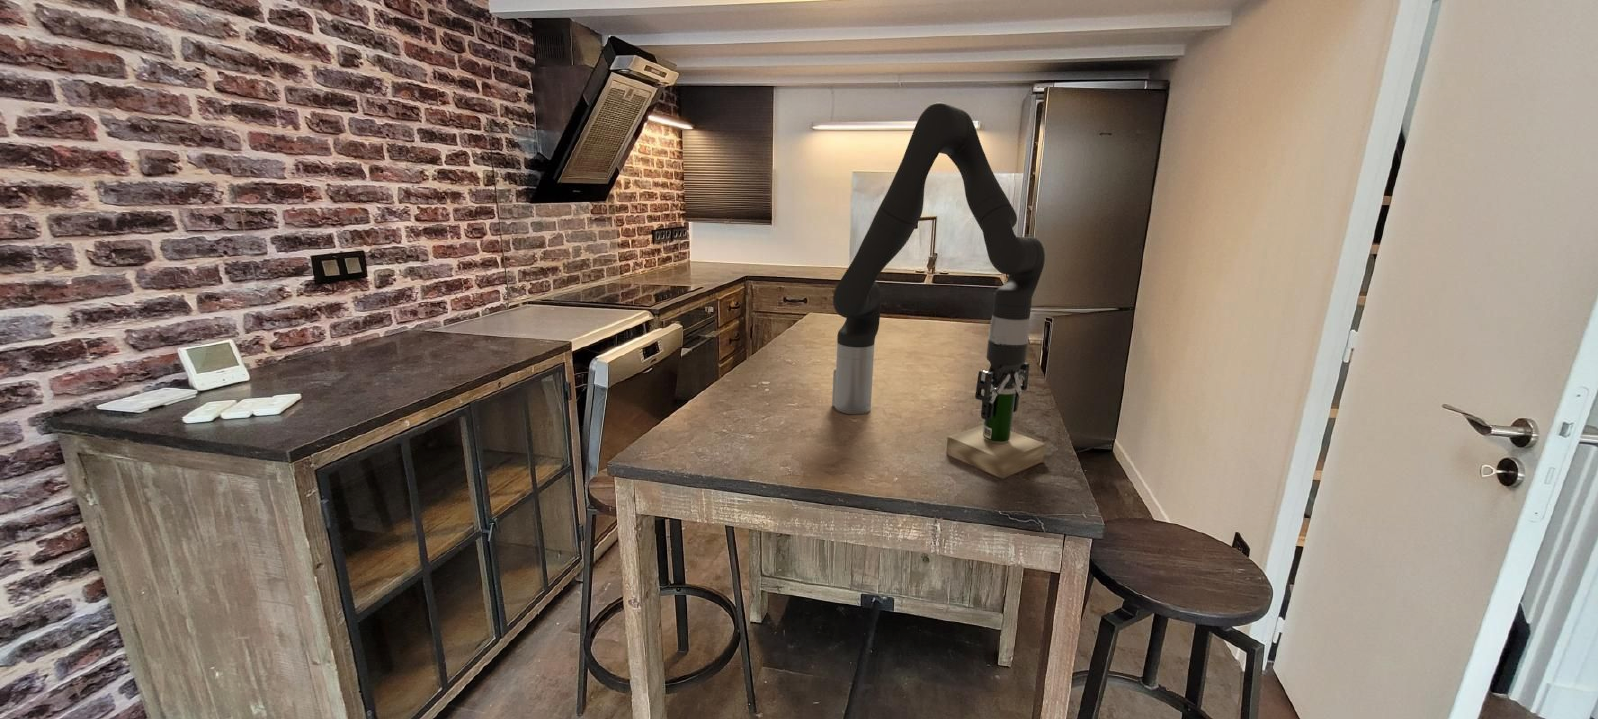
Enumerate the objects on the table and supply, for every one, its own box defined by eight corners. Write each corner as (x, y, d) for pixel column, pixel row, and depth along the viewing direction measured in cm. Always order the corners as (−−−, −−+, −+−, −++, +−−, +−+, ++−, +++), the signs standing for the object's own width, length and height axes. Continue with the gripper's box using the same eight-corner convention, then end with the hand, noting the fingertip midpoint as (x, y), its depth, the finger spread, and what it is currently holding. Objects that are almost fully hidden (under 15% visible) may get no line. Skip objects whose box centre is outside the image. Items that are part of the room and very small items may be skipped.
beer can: (997, 447, 125) (1004, 391, 121) (977, 438, 129) (983, 383, 126) (1014, 441, 128) (1021, 387, 124) (994, 433, 132) (1000, 379, 129)
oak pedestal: (946, 453, 131) (947, 436, 129) (986, 439, 139) (988, 422, 138) (1002, 478, 120) (1004, 459, 119) (1042, 461, 128) (1045, 443, 127)
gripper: (1012, 330, 129) (1004, 403, 134) (970, 339, 121) (962, 416, 125) (1045, 338, 124) (1035, 413, 128) (1002, 347, 115) (993, 428, 120)
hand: (999, 414), depth 127 cm, fingers open, 8 cm apart
